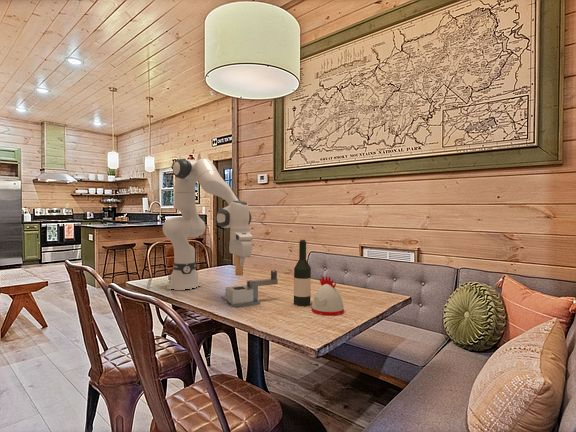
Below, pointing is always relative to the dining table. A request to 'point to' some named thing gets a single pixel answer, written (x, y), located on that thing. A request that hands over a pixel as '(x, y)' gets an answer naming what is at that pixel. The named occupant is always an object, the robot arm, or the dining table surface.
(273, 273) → the crank handle
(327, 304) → the kitchen timer
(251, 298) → the mount
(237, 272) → the orange rounded cylinder
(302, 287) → the wine bottle
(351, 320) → the dining table surface
